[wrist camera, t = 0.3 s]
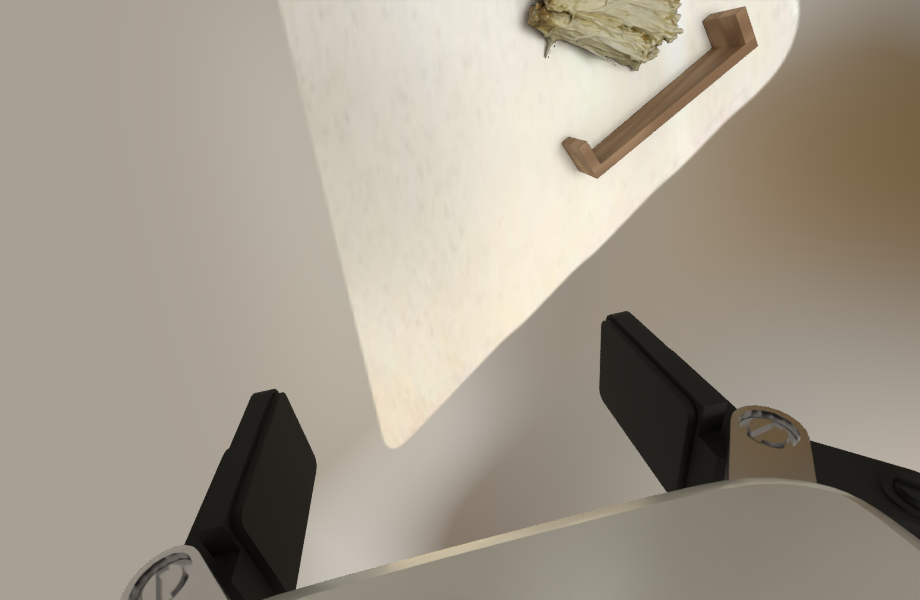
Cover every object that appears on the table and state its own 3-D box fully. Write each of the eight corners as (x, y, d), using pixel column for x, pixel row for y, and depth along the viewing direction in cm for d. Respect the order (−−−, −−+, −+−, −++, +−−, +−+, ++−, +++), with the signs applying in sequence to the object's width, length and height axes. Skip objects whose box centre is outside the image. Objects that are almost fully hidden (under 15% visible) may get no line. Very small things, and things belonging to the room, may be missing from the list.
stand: (561, 143, 45) (578, 148, 41) (710, 14, 41) (745, 6, 37) (579, 171, 47) (597, 178, 43) (723, 49, 43) (758, 45, 39)
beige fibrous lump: (514, 46, 40) (531, 40, 35) (547, -76, 36) (571, -101, 31) (636, 88, 44) (666, 88, 39) (678, -18, 40) (717, -32, 35)
